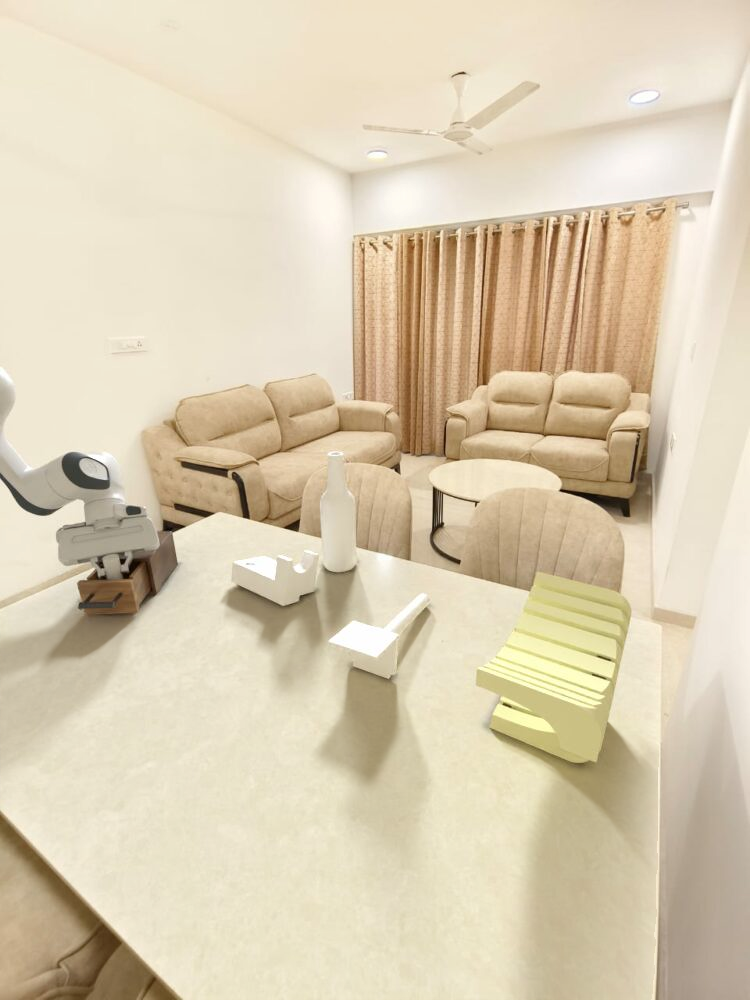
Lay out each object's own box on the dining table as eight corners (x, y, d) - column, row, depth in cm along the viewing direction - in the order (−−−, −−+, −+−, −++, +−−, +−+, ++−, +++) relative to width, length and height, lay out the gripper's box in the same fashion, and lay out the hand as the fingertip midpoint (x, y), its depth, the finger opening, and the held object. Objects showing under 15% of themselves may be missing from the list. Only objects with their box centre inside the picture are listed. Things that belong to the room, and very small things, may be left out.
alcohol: (351, 574, 125) (347, 459, 114) (318, 571, 127) (311, 457, 116) (360, 558, 133) (358, 449, 122) (329, 555, 135) (323, 447, 124)
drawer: (127, 626, 105) (120, 594, 102) (72, 627, 104) (63, 595, 102) (160, 580, 122) (155, 552, 119) (113, 582, 122) (106, 553, 119)
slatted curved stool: (584, 821, 65) (606, 715, 59) (469, 766, 73) (476, 668, 66) (617, 681, 89) (635, 595, 82) (527, 652, 97) (537, 571, 90)
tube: (107, 596, 111) (98, 561, 108) (114, 588, 114) (106, 553, 111) (122, 596, 111) (114, 560, 108) (129, 588, 114) (121, 553, 111)
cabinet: (156, 594, 118) (149, 558, 114) (102, 595, 118) (94, 559, 114) (178, 564, 131) (172, 531, 128) (129, 565, 131) (122, 532, 128)
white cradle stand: (313, 596, 118) (318, 554, 117) (283, 605, 110) (288, 560, 109) (262, 574, 128) (266, 535, 127) (231, 581, 120) (235, 539, 119)
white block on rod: (328, 640, 85) (406, 576, 113) (327, 685, 87) (404, 611, 115) (376, 657, 81) (445, 586, 108) (374, 703, 83) (442, 622, 111)
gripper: (51, 521, 108) (56, 581, 104) (153, 505, 116) (162, 561, 111) (58, 532, 114) (63, 589, 109) (155, 516, 122) (164, 570, 117)
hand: (114, 575), depth 110 cm, fingers closed on tube, 3 cm apart
